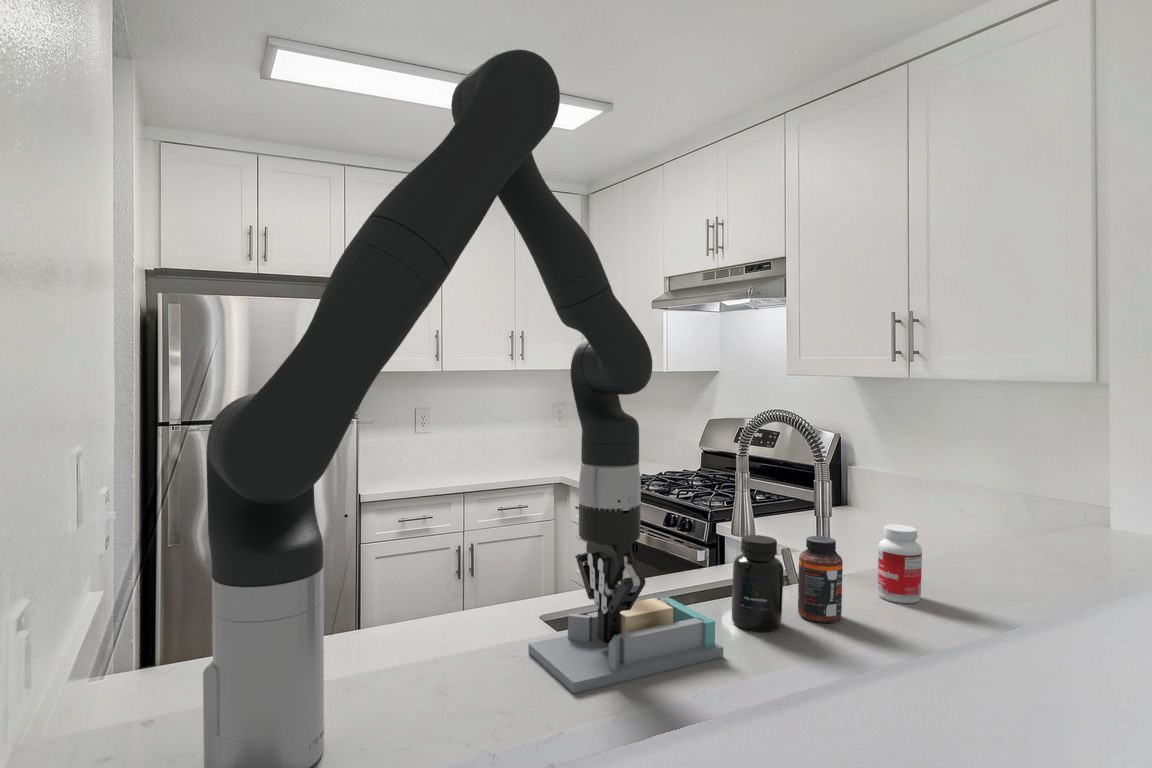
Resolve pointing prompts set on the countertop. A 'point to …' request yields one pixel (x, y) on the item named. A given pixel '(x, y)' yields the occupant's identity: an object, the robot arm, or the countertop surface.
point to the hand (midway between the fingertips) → (608, 640)
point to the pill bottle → (899, 565)
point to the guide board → (626, 649)
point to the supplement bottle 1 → (757, 585)
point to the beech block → (645, 615)
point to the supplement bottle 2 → (820, 581)
